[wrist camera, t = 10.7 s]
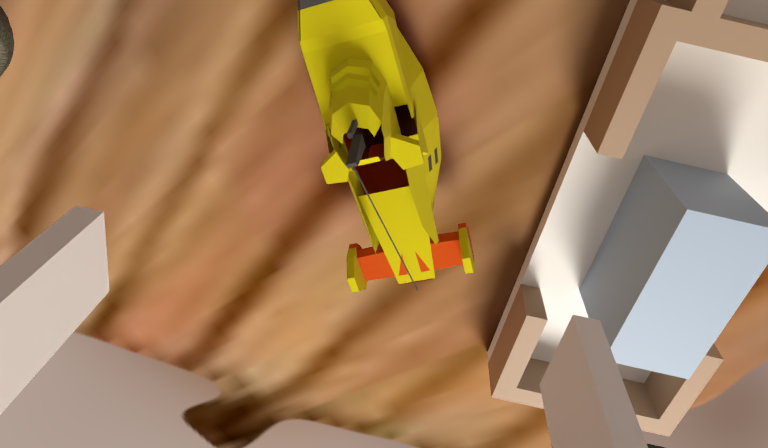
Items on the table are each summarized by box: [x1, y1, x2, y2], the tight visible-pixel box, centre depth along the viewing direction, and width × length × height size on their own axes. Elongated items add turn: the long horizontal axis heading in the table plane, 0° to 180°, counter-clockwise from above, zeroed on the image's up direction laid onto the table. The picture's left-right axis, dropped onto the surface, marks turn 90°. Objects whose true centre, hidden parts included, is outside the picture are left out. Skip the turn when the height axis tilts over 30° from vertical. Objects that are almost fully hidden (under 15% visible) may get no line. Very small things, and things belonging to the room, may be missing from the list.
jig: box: [487, 0, 768, 436], centre depth 27 cm, size 37×11×4 cm, turn 169°
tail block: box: [579, 155, 768, 379], centre depth 28 cm, size 9×4×6 cm, turn 169°
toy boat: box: [297, 0, 475, 292], centre depth 26 cm, size 6×18×10 cm, turn 15°
